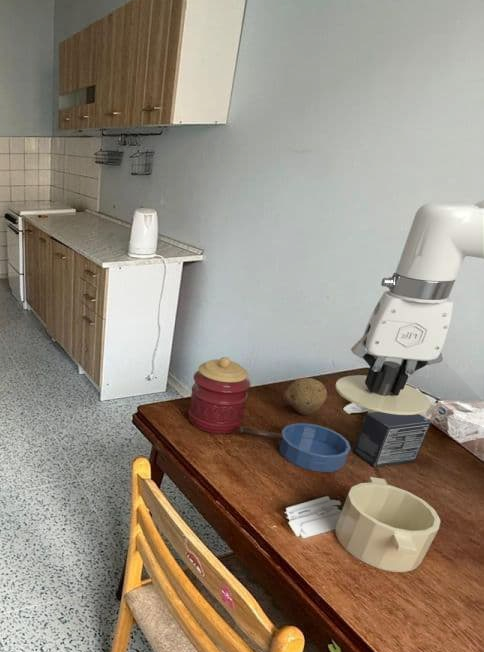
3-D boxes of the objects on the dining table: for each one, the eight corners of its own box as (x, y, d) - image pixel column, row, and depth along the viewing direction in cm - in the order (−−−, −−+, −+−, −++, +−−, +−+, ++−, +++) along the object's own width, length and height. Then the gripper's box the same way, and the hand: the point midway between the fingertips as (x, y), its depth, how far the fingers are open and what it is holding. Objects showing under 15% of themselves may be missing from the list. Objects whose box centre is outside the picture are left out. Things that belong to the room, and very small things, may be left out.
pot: (402, 517, 88) (419, 481, 84) (438, 594, 74) (460, 555, 70) (327, 502, 92) (339, 468, 88) (345, 573, 78) (361, 535, 74)
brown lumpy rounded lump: (280, 417, 121) (289, 382, 116) (281, 402, 128) (289, 368, 123) (320, 425, 117) (331, 389, 112) (319, 408, 124) (329, 374, 119)
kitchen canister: (203, 438, 113) (215, 372, 105) (178, 411, 124) (187, 349, 116) (251, 431, 115) (267, 366, 107) (222, 405, 126) (234, 344, 118)
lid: (412, 385, 87) (425, 353, 84) (441, 423, 75) (458, 387, 72) (327, 376, 91) (337, 344, 88) (343, 411, 79) (355, 376, 76)
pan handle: (282, 438, 108) (284, 432, 107) (283, 442, 107) (284, 436, 106) (237, 431, 111) (239, 425, 110) (237, 434, 110) (239, 429, 109)
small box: (391, 445, 109) (407, 406, 104) (416, 462, 103) (434, 421, 98) (351, 450, 107) (365, 411, 102) (374, 468, 102) (390, 427, 97)
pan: (338, 443, 110) (343, 428, 108) (350, 477, 99) (356, 462, 97) (275, 433, 114) (279, 419, 112) (280, 465, 103) (285, 450, 101)
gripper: (367, 290, 73) (333, 394, 82) (495, 298, 68) (446, 407, 77) (355, 278, 79) (325, 375, 88) (472, 284, 75) (428, 387, 83)
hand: (382, 389), depth 82 cm, fingers closed on lid, 2 cm apart
